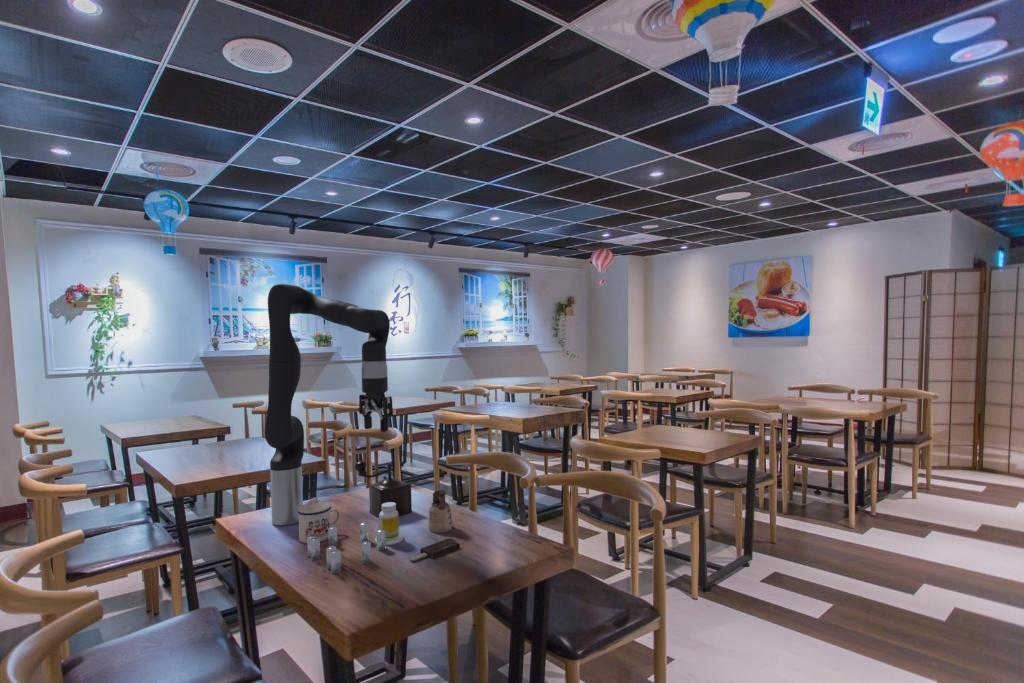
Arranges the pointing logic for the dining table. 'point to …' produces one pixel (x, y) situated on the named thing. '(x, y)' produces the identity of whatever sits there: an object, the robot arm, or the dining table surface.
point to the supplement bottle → (389, 520)
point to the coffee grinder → (387, 491)
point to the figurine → (440, 513)
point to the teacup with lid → (315, 519)
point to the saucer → (393, 540)
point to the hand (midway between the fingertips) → (376, 430)
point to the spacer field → (335, 555)
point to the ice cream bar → (437, 549)
